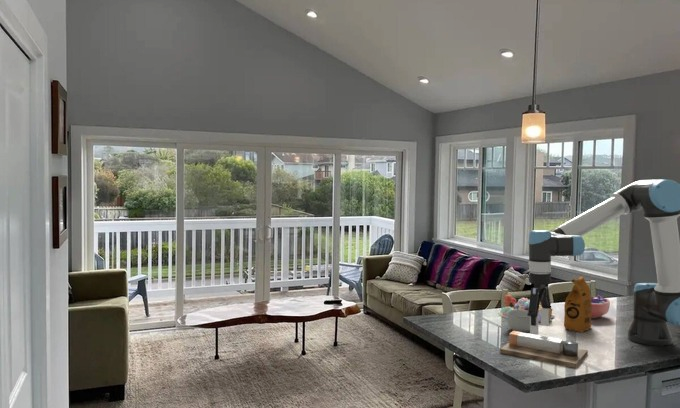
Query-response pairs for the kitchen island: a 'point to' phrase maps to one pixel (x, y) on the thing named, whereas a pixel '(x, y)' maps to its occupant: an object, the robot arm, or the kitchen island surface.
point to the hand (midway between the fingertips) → (539, 329)
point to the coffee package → (578, 307)
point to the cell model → (599, 306)
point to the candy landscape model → (520, 307)
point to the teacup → (519, 320)
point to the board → (545, 355)
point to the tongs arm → (535, 342)
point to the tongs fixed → (566, 346)
